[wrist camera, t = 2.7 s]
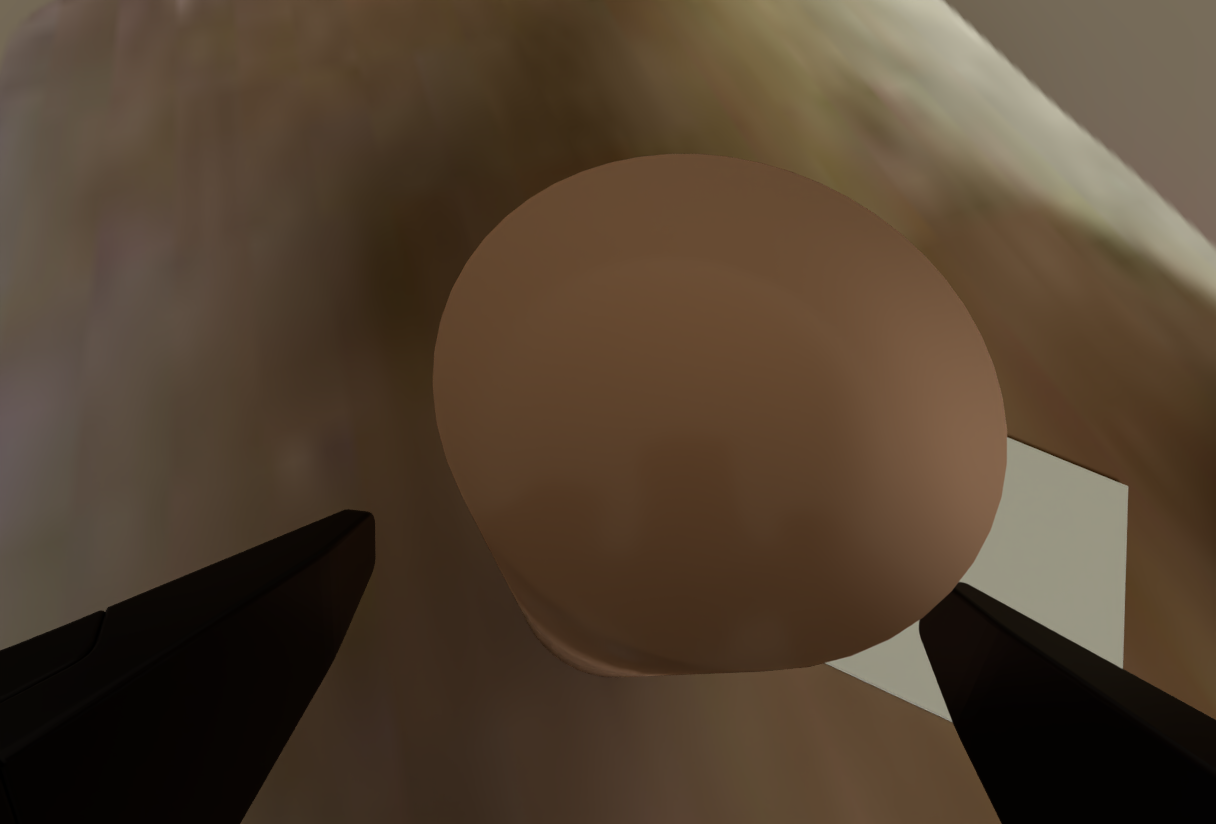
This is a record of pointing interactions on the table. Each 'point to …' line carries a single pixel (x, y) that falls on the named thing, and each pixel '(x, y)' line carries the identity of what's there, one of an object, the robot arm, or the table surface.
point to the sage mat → (1031, 571)
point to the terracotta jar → (715, 419)
